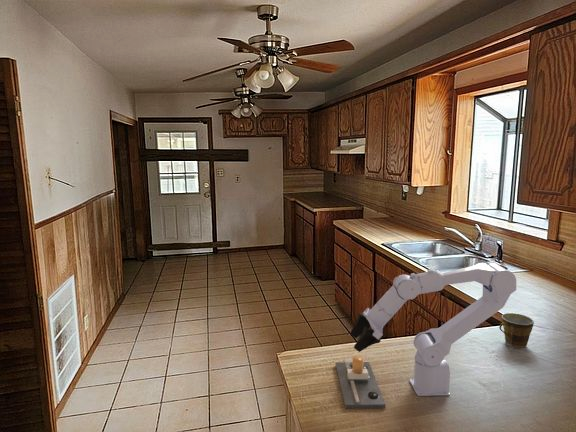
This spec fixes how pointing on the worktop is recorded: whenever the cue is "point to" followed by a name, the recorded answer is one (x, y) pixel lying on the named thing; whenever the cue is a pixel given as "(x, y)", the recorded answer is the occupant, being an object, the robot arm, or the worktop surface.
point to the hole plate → (359, 388)
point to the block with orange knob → (357, 369)
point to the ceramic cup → (516, 329)
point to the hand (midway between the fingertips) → (354, 342)
